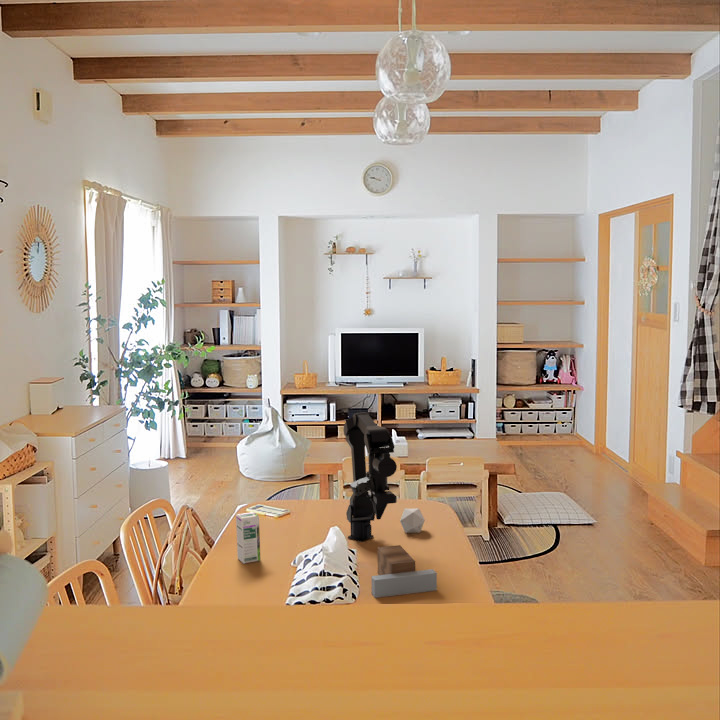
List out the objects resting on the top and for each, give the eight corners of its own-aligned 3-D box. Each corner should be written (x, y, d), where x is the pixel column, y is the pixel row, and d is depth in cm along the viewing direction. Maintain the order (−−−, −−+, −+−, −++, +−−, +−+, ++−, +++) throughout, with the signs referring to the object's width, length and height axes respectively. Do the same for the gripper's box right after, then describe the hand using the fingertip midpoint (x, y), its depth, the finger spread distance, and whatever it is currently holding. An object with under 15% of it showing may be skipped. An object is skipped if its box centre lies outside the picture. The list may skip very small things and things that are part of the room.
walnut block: (377, 573, 227) (377, 547, 226) (400, 571, 229) (400, 545, 228) (391, 591, 214) (391, 564, 213) (415, 588, 215) (415, 561, 215)
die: (417, 539, 259) (431, 514, 261) (395, 525, 260) (409, 501, 262) (415, 539, 267) (428, 515, 269) (393, 527, 268) (407, 503, 270)
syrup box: (243, 564, 236) (241, 518, 234) (237, 558, 241) (235, 513, 240) (260, 560, 238) (259, 515, 237) (254, 555, 244) (253, 510, 242)
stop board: (371, 593, 212) (371, 576, 212) (433, 586, 217) (432, 569, 216) (374, 597, 209) (374, 580, 209) (436, 590, 214) (436, 573, 213)
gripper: (344, 464, 242) (345, 513, 243) (360, 478, 224) (361, 530, 225) (378, 462, 245) (379, 510, 246) (396, 475, 227) (397, 527, 228)
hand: (378, 519), depth 236 cm, fingers closed
